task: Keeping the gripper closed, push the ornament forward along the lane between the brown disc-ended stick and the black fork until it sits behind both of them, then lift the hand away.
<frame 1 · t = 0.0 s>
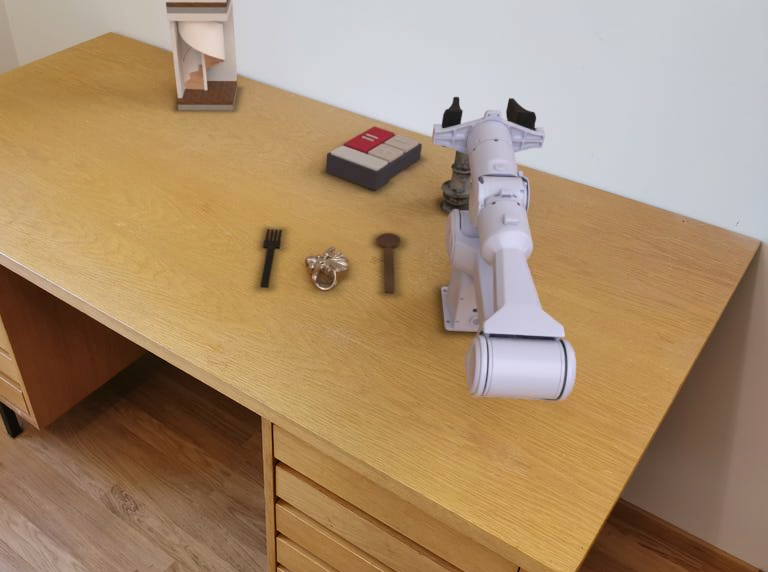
hand: (482, 104, 106), 22 cm above the table, tool horizontal, fingers open, 7 cm apart
spiral staircase model: (208, 100, 158), on the table
calculator: (373, 166, 137), on the table
black fork: (269, 257, 116), on the table
brown disc-ended stick: (389, 263, 115), on the table
grey stone chess piece: (456, 207, 126), on the table
ornament: (326, 277, 113), on the table
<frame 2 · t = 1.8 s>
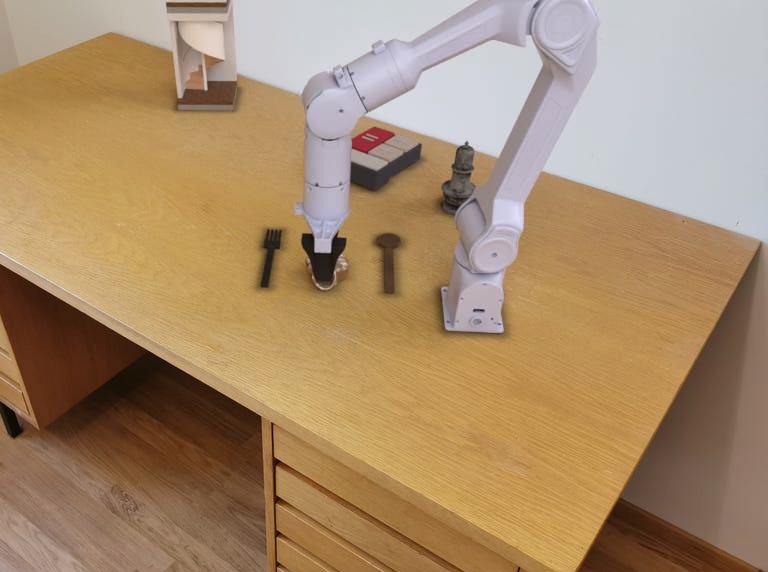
hand: (324, 266, 100), 8 cm above the table, tool pointing down, fingers open, 5 cm apart
nothing on the table moved.
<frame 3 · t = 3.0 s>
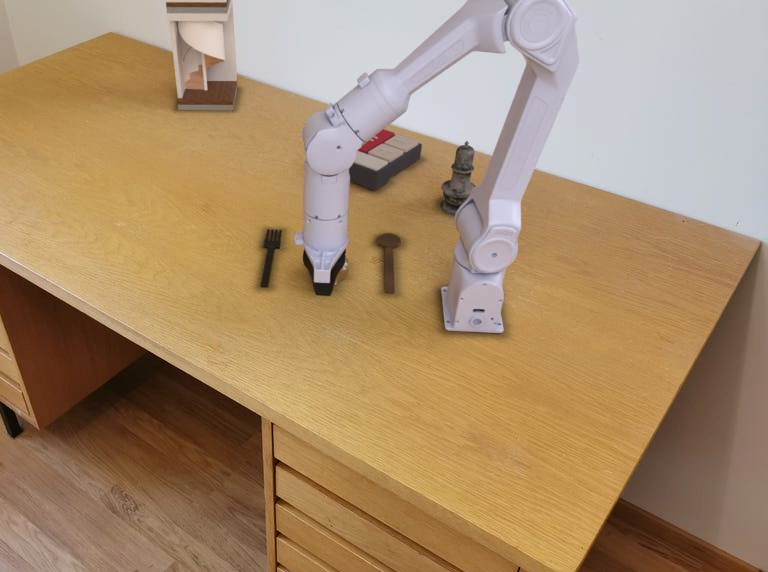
hand: (323, 292, 104), 4 cm above the table, tool pointing down, fingers closed
nothing on the table moved.
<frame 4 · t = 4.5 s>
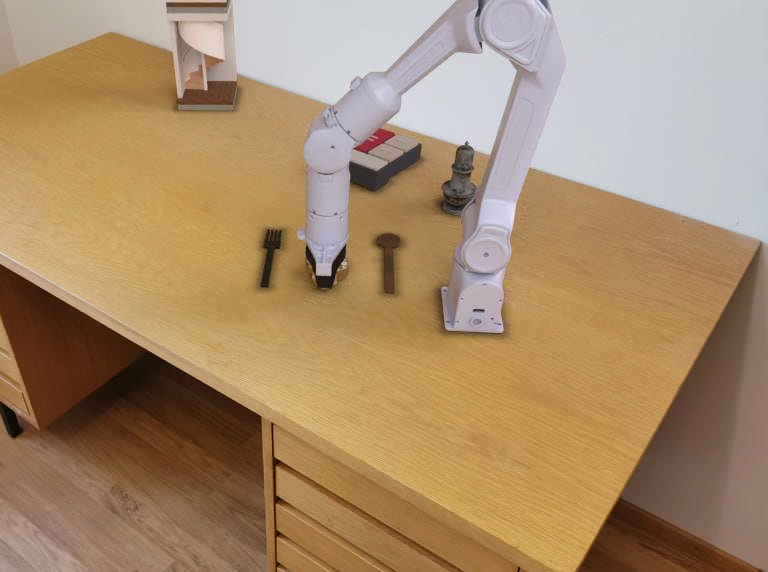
hand: (324, 286, 109), 1 cm above the table, tool pointing down, fingers closed
ornament: (326, 276, 113), on the table, touching gripper
everything else where it was.
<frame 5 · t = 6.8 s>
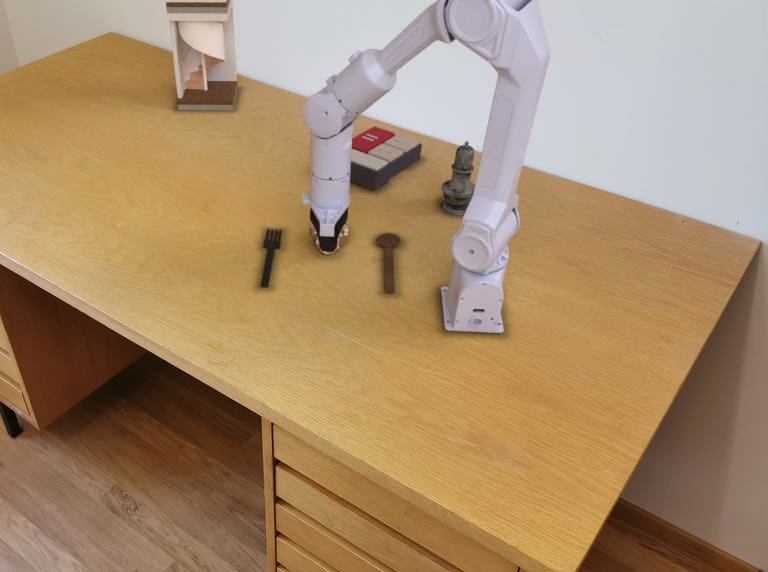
hand: (327, 249, 115), 1 cm above the table, tool pointing down, fingers closed
ornament: (329, 242, 119), on the table, touching gripper
everything else where it was.
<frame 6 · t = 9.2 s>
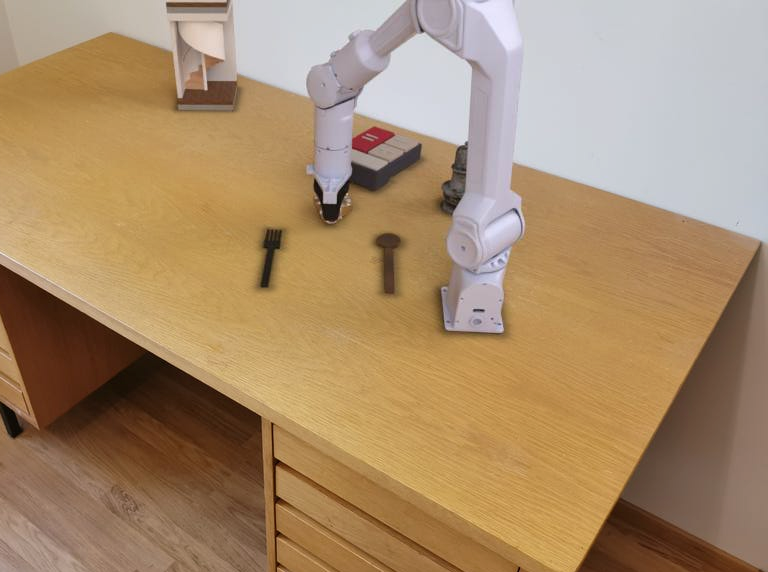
hand: (330, 219, 121), 1 cm above the table, tool pointing down, fingers closed
ornament: (332, 213, 126), on the table, touching gripper
everything else where it was.
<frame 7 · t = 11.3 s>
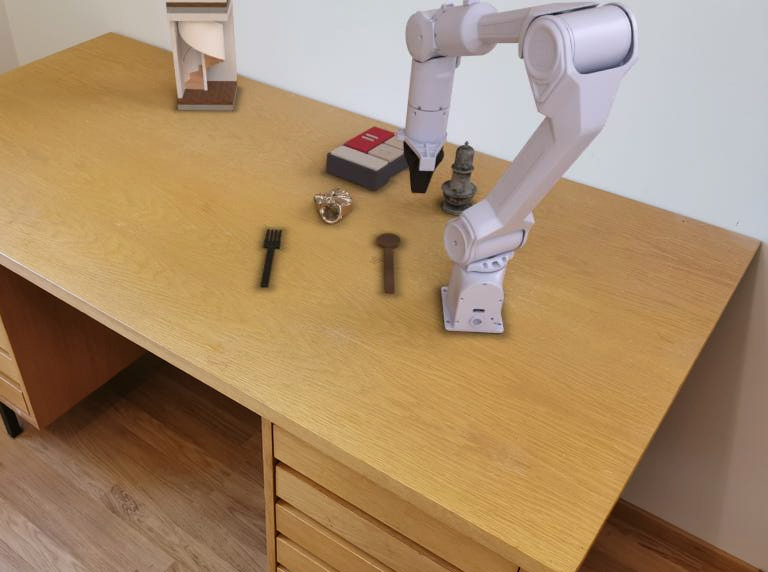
hand: (418, 190, 110), 10 cm above the table, tool pointing down, fingers closed
ornament: (332, 213, 126), on the table
everything else where it was.
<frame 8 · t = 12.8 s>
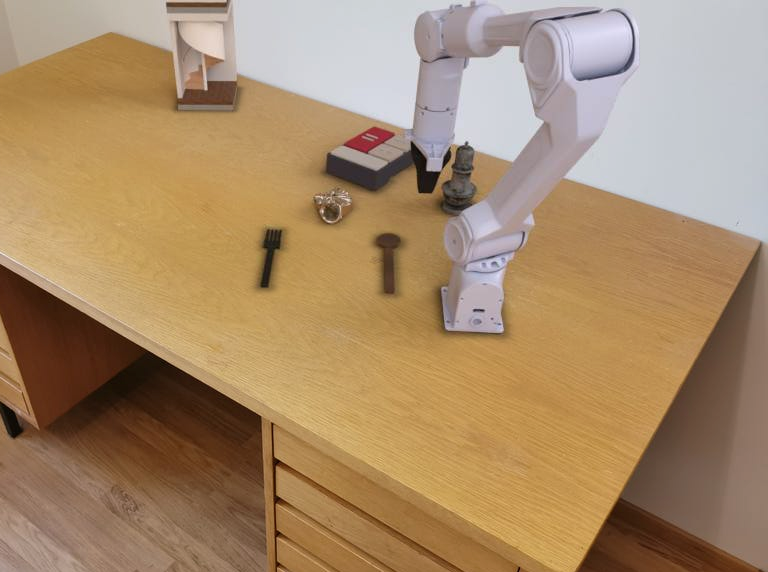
hand: (425, 191, 110), 10 cm above the table, tool pointing down, fingers closed
nothing on the table moved.
at the end: ornament inside the target area (2.7 cm from its centre), on the table; ornament tilted 0°; ornament moved 17.8 cm from its start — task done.
